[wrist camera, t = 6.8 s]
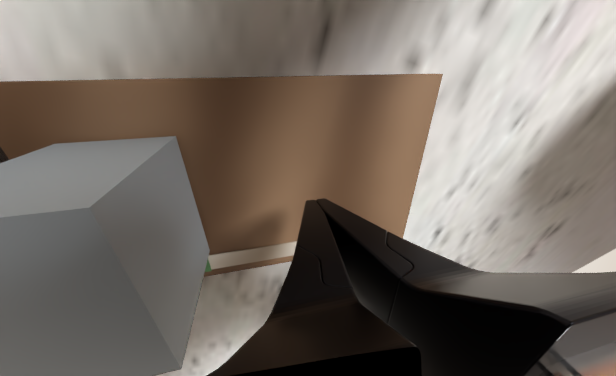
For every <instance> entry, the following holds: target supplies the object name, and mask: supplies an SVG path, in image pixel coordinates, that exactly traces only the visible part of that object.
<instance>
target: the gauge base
mask: <svg viewBox="0 0 616 376" xmlns="http://www.w3.org/2000/svg"><path fill="white" fill-rule="evenodd" d="M442 75H443V74H394V75H339V76H285V77H230V78H176V79H121V80H67V81H12V82H0V147H1V148H2V150H3V151H4V153H5V154H6V155H7V157H8V158H9V160H11V159H14V158H16V157H19V156H22V155H25V154H28V153H30V152H33V151H36V150H39V149H42V148H44V147H47V146H50V145H53V144H59V143H75V142H90V141H106V140H122V139H137V138H153V137H169V136H176V138H177V142H178V145H179V148H180V152H181V155H182V158H183V162H184V165H185V169H186V172H187V175H188V179H189V182H190V185H191V189H192V192H193V195H194V199H195V202H196V206H197V209H198V212H199V216H200V219H201V222H202V226H203V229H204V233H205V236H206V239H207V243H208V246H209V249H210V252H209V256H208V260H207V264H206V268H205V272H204V277H205V276H211V275H216V274H222V273H228V272H233V271H239V270H244V269H250V268H256V267H261V266H267V265H272V264H278V263H284V262H289V261H292V260H293V256H294V252H295V247H296V243H297V239H298V234H299V230H300V225H301V220H302V216H303V211H304V206H305V202H306V201H307V200H316V199H322V198H325V199H327V200H329V201H331V202H333V203H335V204H337V205H339V206H341V207H343V208H345V209H347V210H349V211H350V212H352V213H354V214H356V215H358V216H360V217H362V218H364V219H366V220H368V221H370V222H372V223H373V224H375V225H377V226H379V227H381V228H383V229H385V230H387V232H388V231H389V232H391V233H393V234H395V235H397V236H399V237H401V238H403V235H404V231H405V227H406V223H407V219H408V214H409V210H410V206H411V202H412V198H413V194H414V190H415V186H416V182H417V178H418V173H419V169H420V165H421V161H422V157H423V153H424V149H425V145H426V141H427V137H428V132H429V128H430V124H431V120H432V116H433V112H434V108H435V104H436V100H437V96H438V91H439V87H440V83H441V79H442Z"/></svg>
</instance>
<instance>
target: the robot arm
mask: <svg viewBox="0 0 616 376" xmlns="http://www.w3.org/2000/svg"><path fill="white" fill-rule="evenodd" d="M207 376H616V272H605V273H491V272H483V271H478V270H475V269H471V268H468V267H466V266H463V265H461V264H459V263H456V262H454V261H452V260H449V259H447V258H445V257H442V256H440V255H438V254H435V253H433V252H431V251H429V250H426V249H424V248H422V247H420V246H417V245H415V244H413V243H411V242H409V241H407V240H405V239H403V238H401V237H399V236H397V235H395V234H393V233H391V232H389V231H388V232H387V230H385V229H383V228H381V227H379V226H377V225H375V224H373V223H372V222H370V221H368V220H366V219H364V218H362V217H360V216H358V215H356V214H354V213H352V212H350V211H349V210H347V209H345V208H343V207H341V206H339V205H337V204H335V203H333V202H331V201H329V200H327V199H325V198H322V199H316V200H307V201H306V202H305V206H304V211H303V216H302V220H301V225H300V230H299V234H298V239H297V243H296V247H295V252H294V256H293V260H292V263H291V266H290V269H289V272H288V274H287V277H286V279H285V282H284V284H283V286H282V289H281V291H280V293H279V296H278V298H277V301H276V303H275V305H274V307H273V310H272V312H271V314H270V316H269V318H268V319H267V321H266V322H265V324H264V325H263V326H262V327H261V328H260V329H259V330H258V331H257V332H256V333H255V334H254V335H253V336H252V337H251V338H250V339H249V340H248V341H247V342H246V343H245V344H244V345H243V346H242V347H241V348H240V349H239V350H238V351H237V352H236V353H235V354H234V355H233V356H232V357H231V358H230V359H229V360H227V361H226V362H225V363H224V364H223V365H222V366H221V367H219V368H218V369H217V370H215V371H213V372H212V373H210V374H209V375H207Z"/></svg>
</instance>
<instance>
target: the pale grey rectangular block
mask: <svg viewBox="0 0 616 376" xmlns="http://www.w3.org/2000/svg"><path fill="white" fill-rule="evenodd" d="M209 252H210V249H209V246H208V243H207V239H206V236H205V233H204V229H203V226H202V222H201V219H200V216H199V212H198V209H197V206H196V202H195V199H194V195H193V192H192V189H191V185H190V182H189V179H188V175H187V172H186V169H185V165H184V162H183V158H182V155H181V152H180V148H179V145H178V142H177V138H176V136H169V137H153V138H137V139H122V140H106V141H90V142H75V143H59V144H53V145H50V146H47V147H44V148H42V149H39V150H36V151H33V152H30V153H28V154H25V155H22V156H19V157H16V158H14V159H11V160H8V161H5V162H3V163H0V376H155V375H159V374H163V373H167V372H171V371H175V370H179V369H181V368H182V364H183V360H184V356H185V352H186V347H187V343H188V339H189V335H190V331H191V327H192V322H193V318H194V314H195V310H196V306H197V302H198V297H199V293H200V289H201V285H202V281H203V277H204V272H205V268H206V264H207V260H208V256H209Z"/></svg>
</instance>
